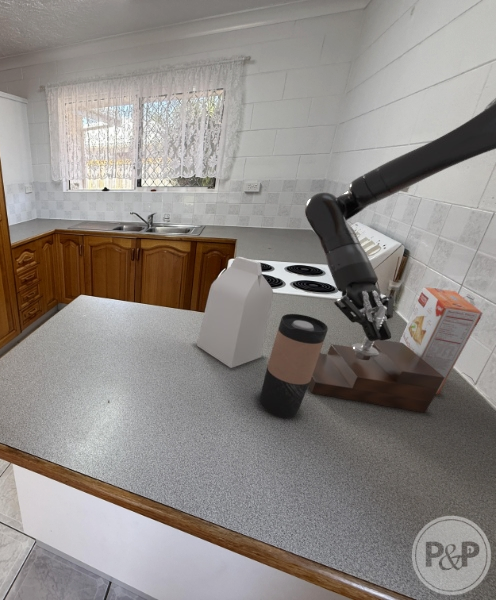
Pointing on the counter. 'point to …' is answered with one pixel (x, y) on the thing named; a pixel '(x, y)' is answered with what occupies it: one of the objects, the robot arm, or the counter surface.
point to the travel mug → (292, 364)
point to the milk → (237, 314)
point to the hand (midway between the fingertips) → (380, 339)
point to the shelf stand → (377, 376)
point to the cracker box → (440, 328)
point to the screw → (366, 348)
